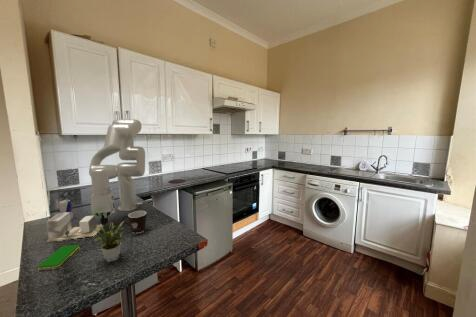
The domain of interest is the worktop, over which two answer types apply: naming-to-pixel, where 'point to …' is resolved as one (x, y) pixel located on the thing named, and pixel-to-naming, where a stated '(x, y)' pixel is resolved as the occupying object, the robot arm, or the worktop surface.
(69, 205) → the energy drink
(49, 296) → the worktop surface
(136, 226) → the coffee mug
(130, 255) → the worktop surface
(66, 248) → the dish sponge
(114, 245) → the house plant
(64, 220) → the base
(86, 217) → the white rectangular block
